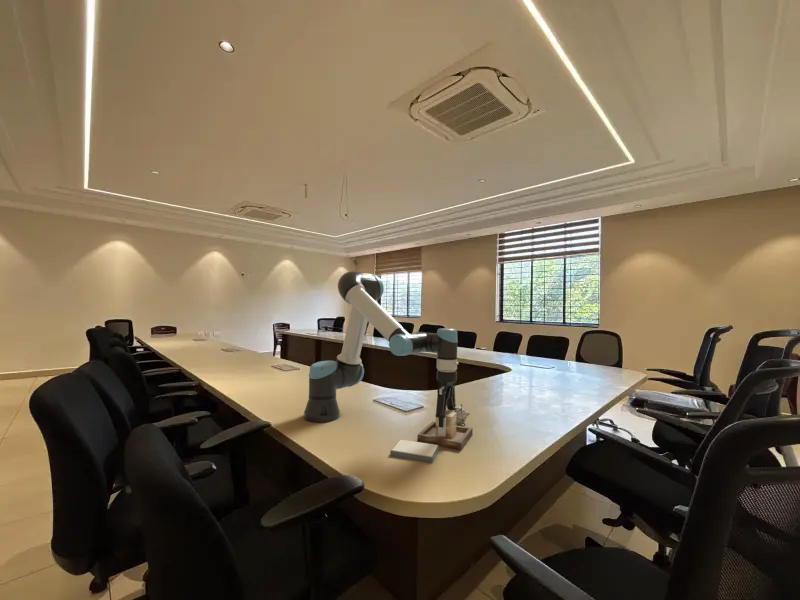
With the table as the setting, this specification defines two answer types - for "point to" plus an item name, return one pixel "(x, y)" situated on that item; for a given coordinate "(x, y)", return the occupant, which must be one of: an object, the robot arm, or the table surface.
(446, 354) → the robot arm
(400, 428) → the table surface
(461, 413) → the game die
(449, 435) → the beech block
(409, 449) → the white grey flat slab
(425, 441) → the walnut tray
